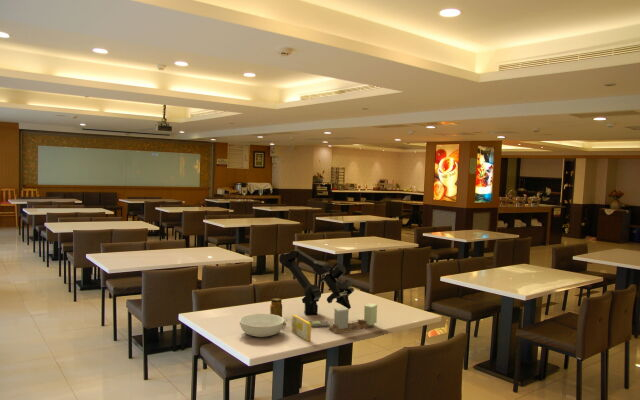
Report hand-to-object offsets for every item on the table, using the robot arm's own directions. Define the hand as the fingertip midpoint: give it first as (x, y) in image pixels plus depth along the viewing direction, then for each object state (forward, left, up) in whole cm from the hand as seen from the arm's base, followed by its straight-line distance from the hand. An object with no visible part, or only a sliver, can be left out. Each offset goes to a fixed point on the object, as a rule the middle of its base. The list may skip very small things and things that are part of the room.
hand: (350, 308), depth 250 cm
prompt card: (-17, -3, -7) cm, 18 cm away
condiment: (-37, +4, -7) cm, 38 cm away
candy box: (-28, -18, -8) cm, 34 cm away
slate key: (-8, -14, -5) cm, 17 cm away
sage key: (+9, -9, -5) cm, 13 cm away
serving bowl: (-46, -13, -7) cm, 48 cm away
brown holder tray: (-1, -9, -7) cm, 11 cm away
